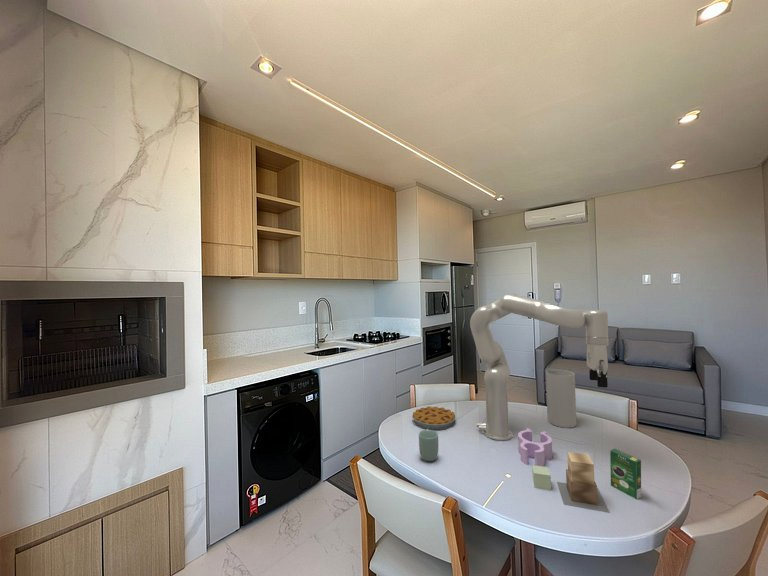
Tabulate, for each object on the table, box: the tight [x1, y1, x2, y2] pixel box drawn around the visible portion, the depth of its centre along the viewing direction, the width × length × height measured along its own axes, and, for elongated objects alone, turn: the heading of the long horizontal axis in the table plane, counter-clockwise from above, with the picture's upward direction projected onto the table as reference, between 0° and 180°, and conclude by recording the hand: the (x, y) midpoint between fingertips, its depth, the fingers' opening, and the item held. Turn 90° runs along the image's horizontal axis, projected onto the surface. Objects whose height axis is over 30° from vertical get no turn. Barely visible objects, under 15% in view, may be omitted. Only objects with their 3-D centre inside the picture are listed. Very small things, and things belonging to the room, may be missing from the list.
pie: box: [411, 406, 456, 431], centre depth 162 cm, size 22×22×5 cm
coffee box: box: [609, 448, 642, 500], centre depth 101 cm, size 8×3×13 cm, turn 22°
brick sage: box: [531, 464, 552, 491], centre depth 106 cm, size 5×5×6 cm
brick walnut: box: [565, 468, 598, 506], centre depth 99 cm, size 7×7×6 cm
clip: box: [517, 427, 553, 467], centre depth 126 cm, size 20×12×7 cm, turn 149°
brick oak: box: [566, 451, 596, 484], centre depth 99 cm, size 6×6×6 cm
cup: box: [418, 429, 439, 462], centre depth 126 cm, size 8×8×10 cm
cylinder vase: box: [545, 369, 577, 429], centre depth 156 cm, size 12×12×25 cm
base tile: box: [556, 481, 611, 514], centre depth 99 cm, size 12×12×1 cm
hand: (598, 383), depth 125 cm, fingers open, 9 cm apart
